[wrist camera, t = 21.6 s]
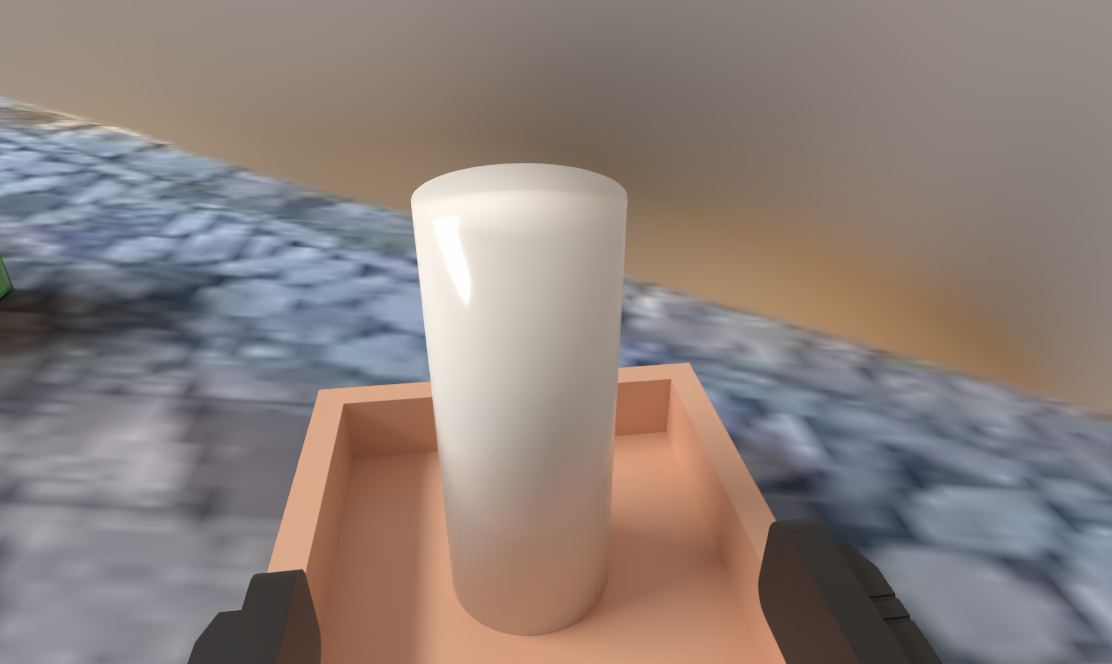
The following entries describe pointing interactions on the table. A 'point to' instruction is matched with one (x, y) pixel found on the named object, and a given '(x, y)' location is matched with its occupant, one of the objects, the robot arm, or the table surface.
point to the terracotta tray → (634, 547)
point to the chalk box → (4, 280)
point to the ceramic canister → (524, 382)
